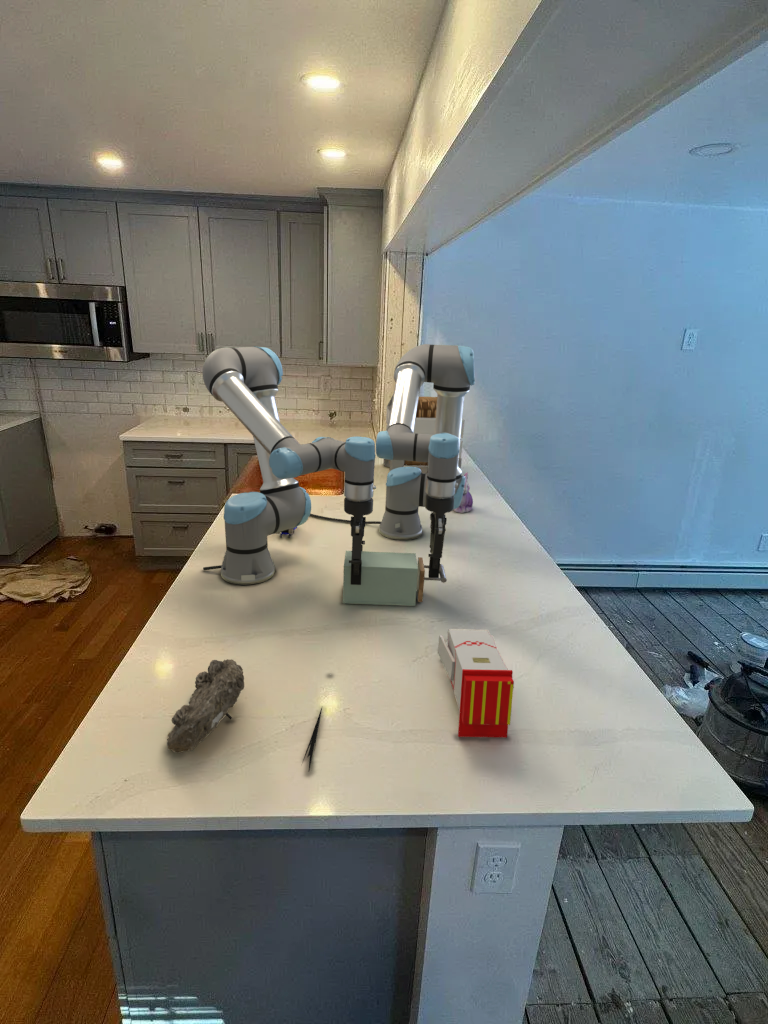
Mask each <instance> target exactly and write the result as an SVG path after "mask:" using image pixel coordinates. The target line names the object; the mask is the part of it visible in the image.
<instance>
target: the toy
mask: <svg viewBox="0 0 768 1024" xmlns="http://www.w3.org/2000/svg"><path fill="white" fill-rule="evenodd" d="M446 640H447V643H446V641H445V639H444V636H443V635H442V634H439V637H438V646H437V656H438V657H439V659H440V661H441V663H442V666H443V668H444V670H445V672H446V674H447V677H448V679H449V681H450V684H451V687H452V690H453V693H454V697H455V701H456V705H457V708H458V711H459V714H458V715H459V716H458V730H457V731H458V732H457V737H458V738H508V731H509V726H510V725H511V717H512V707H513V697H514V696H513V695H514V684H515V680H514V679H513V673H514V671H513V670H512V669H508V667H507V665H506V662H505V661H504V659H503V658H502V655H501V653H500V651H499V649H498V647H497V643H496V639H495V637H494V635H493V634H491V632H490V631H489V629H467V628H466V629H465V628H463V629H461V628H460V629H459V628H448V630H447V639H446Z"/></svg>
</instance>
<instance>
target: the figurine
mask: <svg viewBox="0 0 768 1024" xmlns="http://www.w3.org/2000/svg"><path fill="white" fill-rule="evenodd" d="M463 476H465V485H464V491H463V496H462V500H461V503H460V506H459V507H458V508H456V509H453V510H452V511H453V512H456V513H462V514H463V513H468V512H470V511H471V510H472V509H473V505H474V499H473V496H472V494H471V492H470V489H471V487H470V484H469V482H468V479H469V473H468V472H465V473H464V474H463Z"/></svg>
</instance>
